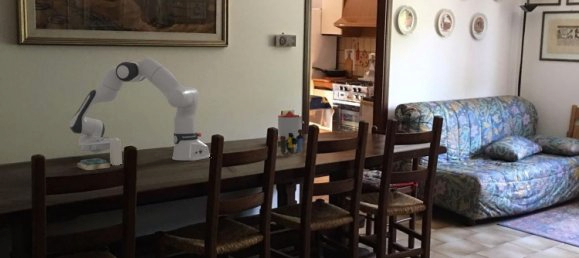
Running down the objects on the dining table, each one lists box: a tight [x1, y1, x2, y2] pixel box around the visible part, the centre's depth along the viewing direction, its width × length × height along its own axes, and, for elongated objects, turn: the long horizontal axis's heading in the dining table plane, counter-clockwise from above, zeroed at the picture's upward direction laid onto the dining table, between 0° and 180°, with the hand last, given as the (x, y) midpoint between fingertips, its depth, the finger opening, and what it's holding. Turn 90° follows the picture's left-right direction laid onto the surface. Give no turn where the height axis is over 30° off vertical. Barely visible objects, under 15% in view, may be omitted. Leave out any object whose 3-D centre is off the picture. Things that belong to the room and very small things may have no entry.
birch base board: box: [76, 157, 111, 171], centre depth 304 cm, size 12×12×4 cm
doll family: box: [278, 128, 306, 157], centre depth 344 cm, size 23×9×13 cm, turn 160°
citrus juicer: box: [277, 110, 305, 142], centre depth 391 cm, size 16×17×20 cm
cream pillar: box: [109, 137, 123, 166], centre depth 311 cm, size 4×4×14 cm
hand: (105, 147), depth 321 cm, fingers open, 8 cm apart
